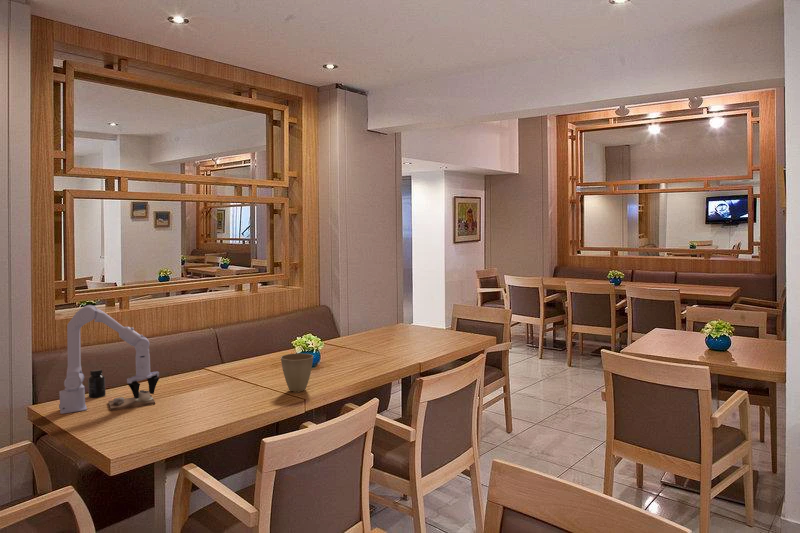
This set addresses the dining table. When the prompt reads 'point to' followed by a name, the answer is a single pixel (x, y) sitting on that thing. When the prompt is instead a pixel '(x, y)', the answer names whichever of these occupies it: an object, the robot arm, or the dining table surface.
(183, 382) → the dining table surface
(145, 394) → the knob
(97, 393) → the supplement bottle
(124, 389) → the dining table surface
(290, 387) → the plant pot
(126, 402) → the base
